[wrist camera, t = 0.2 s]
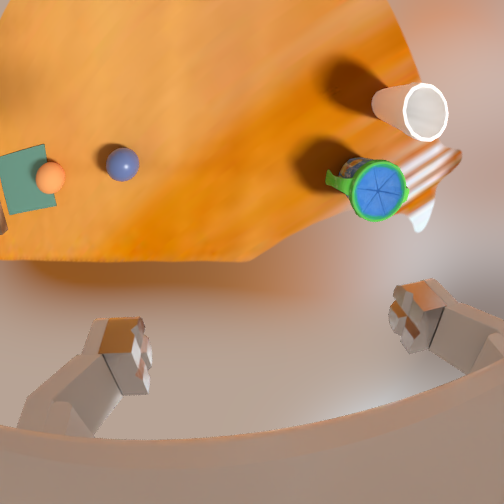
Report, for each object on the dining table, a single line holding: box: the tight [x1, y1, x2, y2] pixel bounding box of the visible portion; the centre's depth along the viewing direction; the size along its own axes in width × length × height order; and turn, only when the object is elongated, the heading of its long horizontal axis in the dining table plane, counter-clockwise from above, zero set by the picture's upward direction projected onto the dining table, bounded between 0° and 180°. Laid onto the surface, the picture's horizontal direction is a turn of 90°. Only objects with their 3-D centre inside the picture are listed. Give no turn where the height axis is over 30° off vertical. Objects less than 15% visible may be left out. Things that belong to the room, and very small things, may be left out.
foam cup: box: [371, 82, 449, 141], centre depth 46 cm, size 10×9×13 cm
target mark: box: [0, 144, 57, 215], centre depth 49 cm, size 12×12×1 cm
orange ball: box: [36, 162, 65, 194], centre depth 47 cm, size 6×6×6 cm
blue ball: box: [106, 148, 139, 181], centre depth 49 cm, size 6×6×6 cm
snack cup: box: [325, 158, 409, 222], centre depth 54 cm, size 16×11×10 cm
